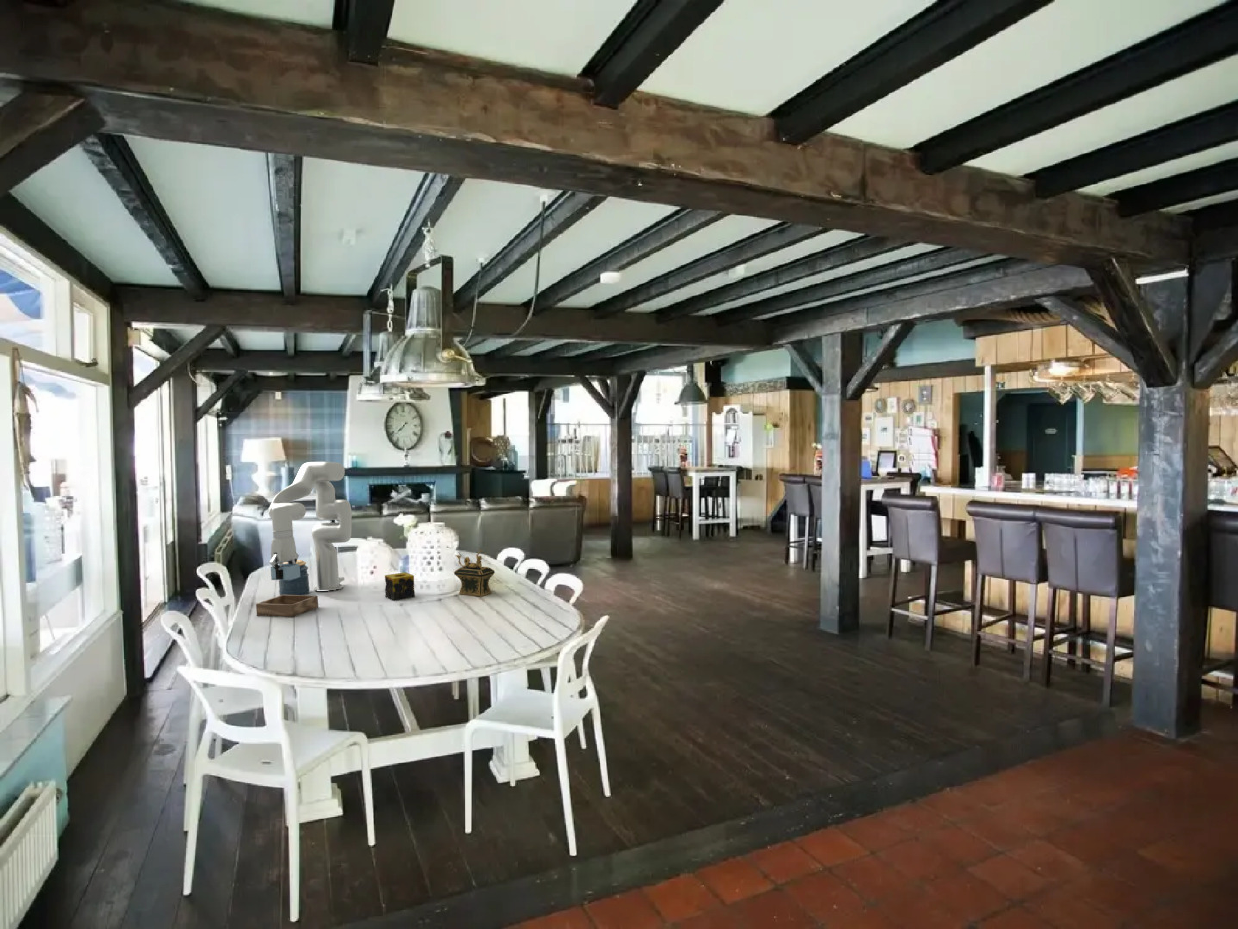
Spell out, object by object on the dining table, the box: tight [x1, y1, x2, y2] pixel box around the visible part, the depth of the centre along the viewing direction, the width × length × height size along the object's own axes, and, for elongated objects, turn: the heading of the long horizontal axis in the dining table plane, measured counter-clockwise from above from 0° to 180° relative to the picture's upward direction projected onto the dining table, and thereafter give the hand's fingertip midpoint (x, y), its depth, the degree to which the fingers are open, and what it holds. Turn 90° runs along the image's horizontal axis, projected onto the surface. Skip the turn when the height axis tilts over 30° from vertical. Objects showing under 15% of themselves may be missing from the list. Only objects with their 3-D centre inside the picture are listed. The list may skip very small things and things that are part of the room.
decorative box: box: [453, 548, 495, 597], centre depth 322 cm, size 20×10×20 cm, turn 60°
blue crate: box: [270, 564, 300, 581], centre depth 301 cm, size 6×9×6 cm
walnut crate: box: [255, 594, 319, 618], centre depth 301 cm, size 16×18×5 cm
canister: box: [278, 559, 310, 596], centre depth 333 cm, size 13×13×18 cm
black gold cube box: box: [384, 572, 415, 602], centre depth 320 cm, size 10×10×10 cm
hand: (285, 576), depth 301 cm, fingers closed on blue crate, 6 cm apart
